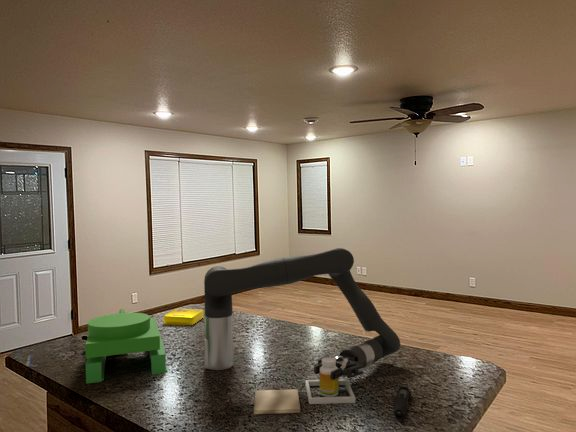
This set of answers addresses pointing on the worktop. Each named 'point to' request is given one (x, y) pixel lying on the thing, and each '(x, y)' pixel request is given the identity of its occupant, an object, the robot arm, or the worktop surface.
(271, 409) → the pad
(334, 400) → the square frame
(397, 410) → the electric trimmer
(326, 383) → the supplement bottle
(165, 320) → the element tile
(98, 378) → the tank
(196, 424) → the worktop surface
